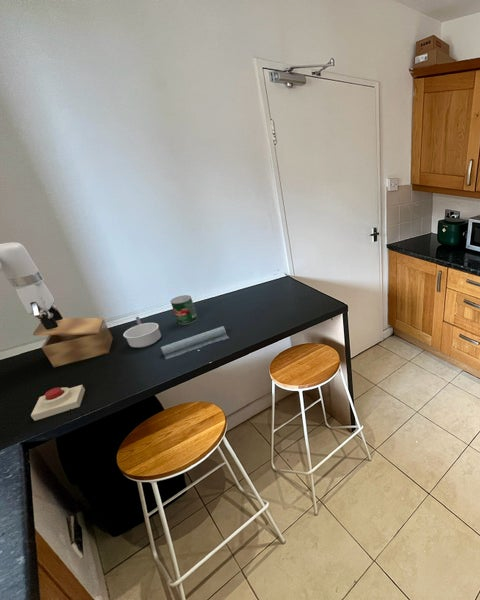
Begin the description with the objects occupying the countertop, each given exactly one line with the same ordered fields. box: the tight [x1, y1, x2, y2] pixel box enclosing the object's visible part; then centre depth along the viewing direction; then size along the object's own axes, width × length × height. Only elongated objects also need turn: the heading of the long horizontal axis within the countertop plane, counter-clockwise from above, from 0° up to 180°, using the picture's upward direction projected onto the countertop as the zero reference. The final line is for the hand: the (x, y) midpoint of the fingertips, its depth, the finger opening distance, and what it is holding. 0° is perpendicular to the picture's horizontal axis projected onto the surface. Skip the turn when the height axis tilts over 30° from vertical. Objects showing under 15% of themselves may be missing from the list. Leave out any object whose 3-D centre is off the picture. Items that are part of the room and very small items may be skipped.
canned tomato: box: [169, 294, 199, 326], centre depth 142 cm, size 8×8×11 cm
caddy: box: [41, 319, 114, 368], centre depth 121 cm, size 16×13×9 cm
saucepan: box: [123, 316, 162, 348], centre depth 130 cm, size 12×20×6 cm, turn 42°
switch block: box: [30, 384, 86, 421], centre depth 97 cm, size 10×9×4 cm
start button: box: [44, 387, 64, 400], centre depth 96 cm, size 4×4×2 cm
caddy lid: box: [32, 312, 104, 336], centre depth 117 cm, size 16×13×5 cm
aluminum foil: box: [160, 325, 230, 360], centre depth 126 cm, size 23×7×3 cm, turn 133°
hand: (54, 323), depth 115 cm, fingers closed on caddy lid, 5 cm apart
